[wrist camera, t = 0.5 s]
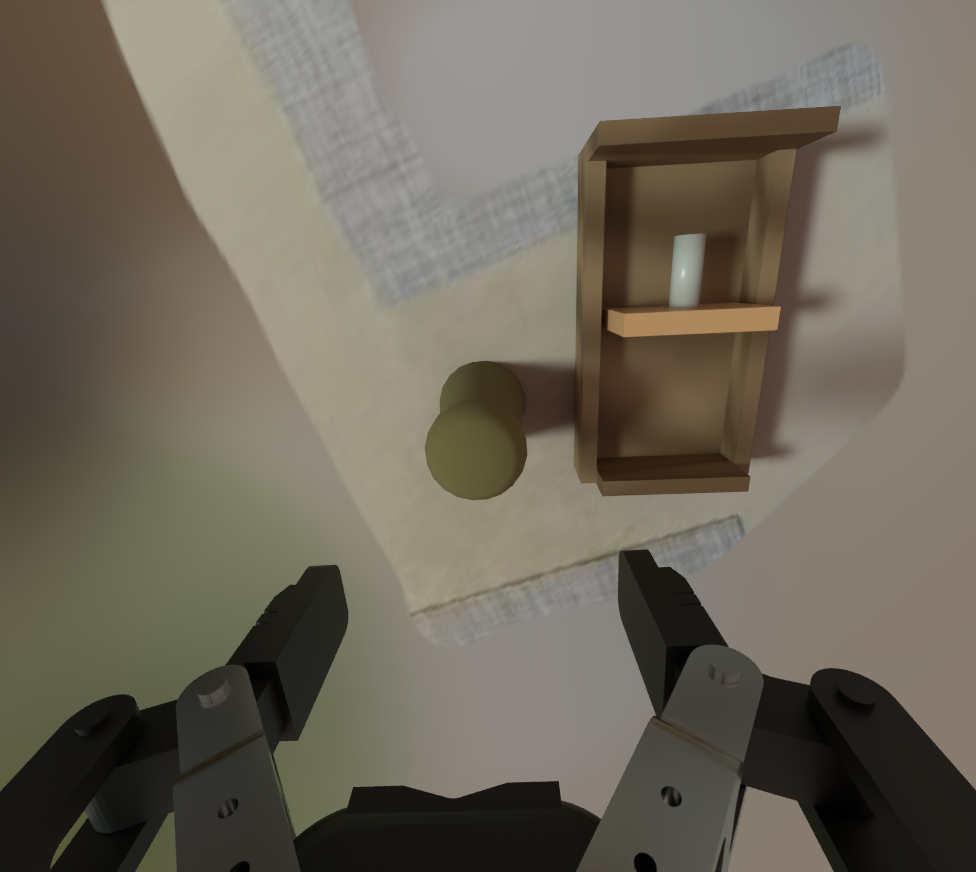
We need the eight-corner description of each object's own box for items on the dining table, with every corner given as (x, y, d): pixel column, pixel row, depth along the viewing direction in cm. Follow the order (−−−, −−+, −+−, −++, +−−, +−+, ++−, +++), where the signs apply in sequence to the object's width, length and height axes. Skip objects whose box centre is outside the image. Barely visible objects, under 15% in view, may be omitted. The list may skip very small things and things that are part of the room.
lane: (578, 154, 27) (599, 121, 21) (767, 143, 26) (841, 105, 21) (574, 466, 33) (589, 504, 28) (726, 460, 33) (773, 498, 27)
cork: (515, 352, 31) (523, 387, 20) (533, 434, 33) (548, 505, 22) (429, 372, 31) (395, 416, 21) (452, 451, 33) (430, 529, 23)
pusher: (605, 242, 27) (628, 234, 22) (741, 235, 27) (793, 225, 22) (603, 327, 29) (623, 337, 24) (731, 322, 29) (777, 330, 24)
